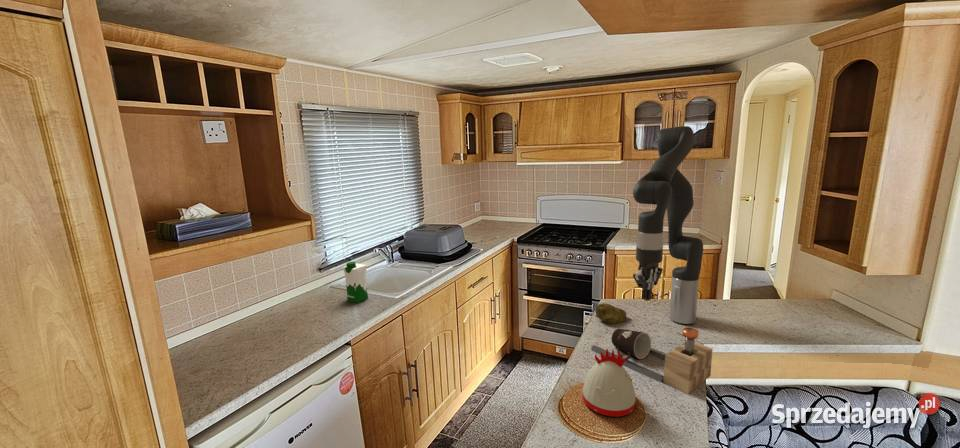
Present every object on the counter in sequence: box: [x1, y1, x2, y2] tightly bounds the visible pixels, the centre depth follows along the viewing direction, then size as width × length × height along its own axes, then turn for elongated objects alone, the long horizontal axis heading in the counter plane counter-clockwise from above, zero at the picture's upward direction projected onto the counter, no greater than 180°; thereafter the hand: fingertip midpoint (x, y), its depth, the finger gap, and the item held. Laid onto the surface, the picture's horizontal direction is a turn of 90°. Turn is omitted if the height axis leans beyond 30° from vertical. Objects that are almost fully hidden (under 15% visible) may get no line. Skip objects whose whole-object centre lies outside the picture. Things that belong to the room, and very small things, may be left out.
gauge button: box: [682, 327, 699, 356], centre depth 115 cm, size 4×4×10 cm
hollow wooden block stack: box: [663, 342, 714, 395], centre depth 116 cm, size 14×7×9 cm, turn 127°
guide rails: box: [590, 344, 667, 383], centre depth 130 cm, size 14×25×2 cm, turn 37°
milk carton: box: [342, 261, 369, 304], centre depth 185 cm, size 9×9×20 cm
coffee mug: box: [611, 328, 652, 360], centre depth 132 cm, size 12×9×10 cm
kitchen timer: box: [582, 348, 636, 417], centre depth 107 cm, size 14×14×15 cm
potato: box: [594, 302, 627, 324], centre depth 156 cm, size 8×13×8 cm, turn 87°
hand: (646, 299), depth 124 cm, fingers closed
